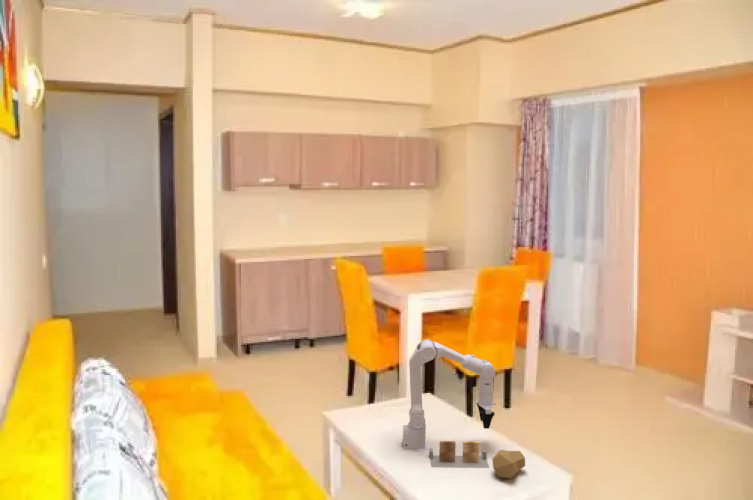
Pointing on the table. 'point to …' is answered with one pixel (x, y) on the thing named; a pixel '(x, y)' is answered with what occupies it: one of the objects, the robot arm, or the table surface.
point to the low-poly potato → (508, 463)
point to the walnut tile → (447, 451)
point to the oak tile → (470, 451)
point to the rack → (459, 461)
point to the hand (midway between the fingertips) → (484, 424)
